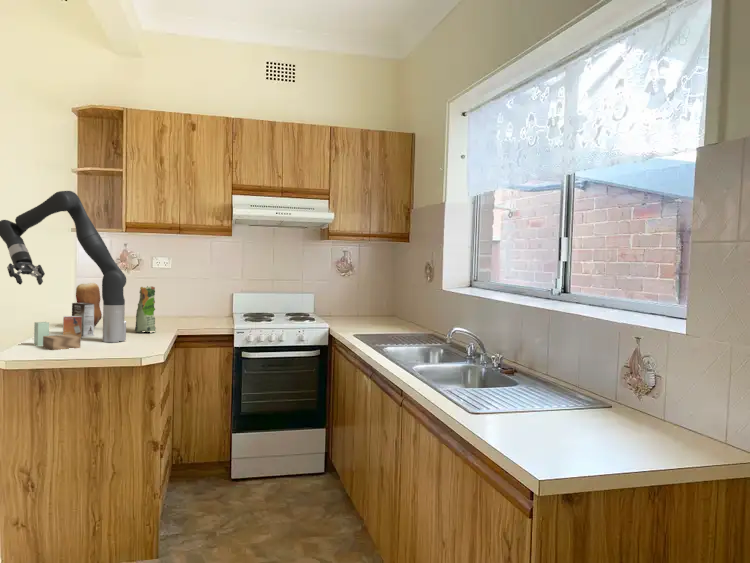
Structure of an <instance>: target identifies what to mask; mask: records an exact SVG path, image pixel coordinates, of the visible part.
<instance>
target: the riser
mask: <svg viewBox="0 0 750 563" xmlns="http://www.w3.org/2000/svg"><path fill="white" fill-rule="evenodd" d="M81 339H82V336H81V337H78V336H74V335H63V334H59V335H56V334H55V335H49V336H43V346H42V348H44V347H45V348H44V349H47V348H48V349H49V350H52V351H59V350H60V351H61V349H62V350H70V349H69V348H74V349H81ZM48 349H47V350H48Z"/></svg>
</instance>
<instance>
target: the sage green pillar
mask: <svg viewBox="0 0 750 563" xmlns="http://www.w3.org/2000/svg"><path fill="white" fill-rule="evenodd" d="M33 324H34V328H33V329H34V332H33V334H34V335H33V337H34V338H33V343H34V344H35V345H34V344H33V345H34V346H36V345H37V347H43V346H42V345H43V336H50V322H47V321H34V323H33Z"/></svg>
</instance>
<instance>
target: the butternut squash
mask: <svg viewBox="0 0 750 563" xmlns="http://www.w3.org/2000/svg"><path fill="white" fill-rule="evenodd" d="M75 299H76V303H82V302H83V303H92V304H94V328H95V327H96V326H97V325H98V323H99V322H100V321H101V320H102V318H103V313H102V311H101V304H100V302H101V292H100V287H99V285H98V284H97V283H95V282H90V283H80V284H78V285H77V286H76V289H75Z"/></svg>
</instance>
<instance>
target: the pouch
mask: <svg viewBox="0 0 750 563" xmlns="http://www.w3.org/2000/svg"><path fill="white" fill-rule="evenodd" d="M155 293H156V287H155V286H148V285H147V286H146V287H144V286H140V289H139V301H138V303H137V309H136V315H135V326H134V327H135V328H134V332H137V333H141V332H140V331H145V332H150V331H155V332H156V329H157V328H156V318H155V314H154V313H155V310H156V308H155V303H156V301H155V295H156V294H155Z"/></svg>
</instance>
